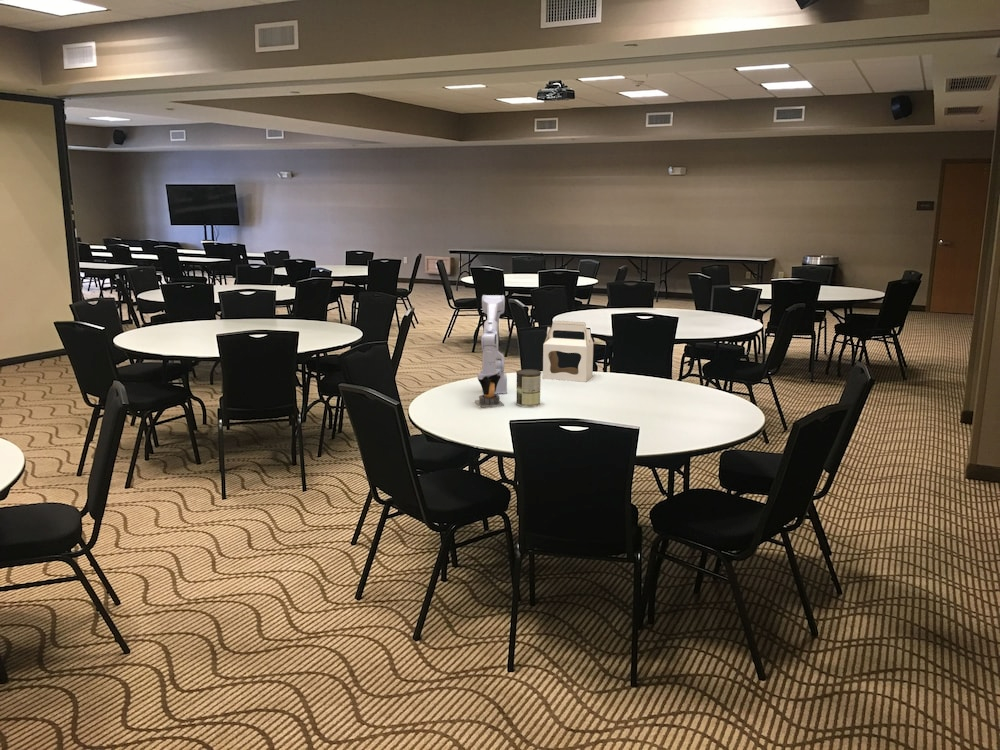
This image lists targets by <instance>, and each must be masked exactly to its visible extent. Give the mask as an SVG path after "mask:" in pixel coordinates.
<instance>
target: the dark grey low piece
mask: <svg viewBox="0 0 1000 750" xmlns="http://www.w3.org/2000/svg"><path fill="white" fill-rule="evenodd" d="M478 397H479V398H478V399H475V400H474V404H476V405H477V406H478V407H479V406H480V407H481V409H485V408H486V407H490V408H498V407H497V406H504V407H505V404H504V402H502V401H501V400H500V399H501V397H500V395H499V394H495V398H484V394H481V395H479V396H478ZM486 409H487V408H486Z"/></svg>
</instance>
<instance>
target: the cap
mask: <svg viewBox="0 0 1000 750" xmlns="http://www.w3.org/2000/svg"><path fill="white" fill-rule="evenodd" d="M483 395H484V398H495V395H496V394H495V383H493V382H490V386H489V394H488V395H485V394H483Z"/></svg>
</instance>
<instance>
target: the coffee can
mask: <svg viewBox="0 0 1000 750" xmlns="http://www.w3.org/2000/svg"><path fill="white" fill-rule="evenodd" d="M541 374H542V372H541V371H540V370H537V369H532V368H530V369H519V370H517V371H516V403H515V405H516V406H518V405H519V407H522V406H526V407H525V408H534V407H533V406H536V407H538V405H539V406H540V405H541Z"/></svg>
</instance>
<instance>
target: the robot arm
mask: <svg viewBox="0 0 1000 750" xmlns="http://www.w3.org/2000/svg"><path fill="white" fill-rule="evenodd" d="M505 303H506V298H505V295H504V294H502V295H499V294H495V295H494V294H492V295H491V294H490V295H489V294H488V295H487V294H482V296H481V308H482V312H483V313H484V314H486V315H487V318H486V320H485V321H484V323H483V332H482V334H481V336H480V337H481V342H480V343H481V351H482V362H481V363H482V364H481V369H482V370H480V372H479V374H477V380H478V382H479V384H480V386H481V390H482V393H483V394H482V395H484V394H485V395H488V394H489V386H490V382H493V383H495V395H499V393H503V394H508V377H507V374H506V372H505V363H506V362H505V356H504V354H503V353H501V351H499V329H500V327H499V326H500V325H499V322H500V321H499V320H500V316H501V315H502V314H504V313H505V307H506V306H505ZM497 393H498V394H497Z"/></svg>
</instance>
